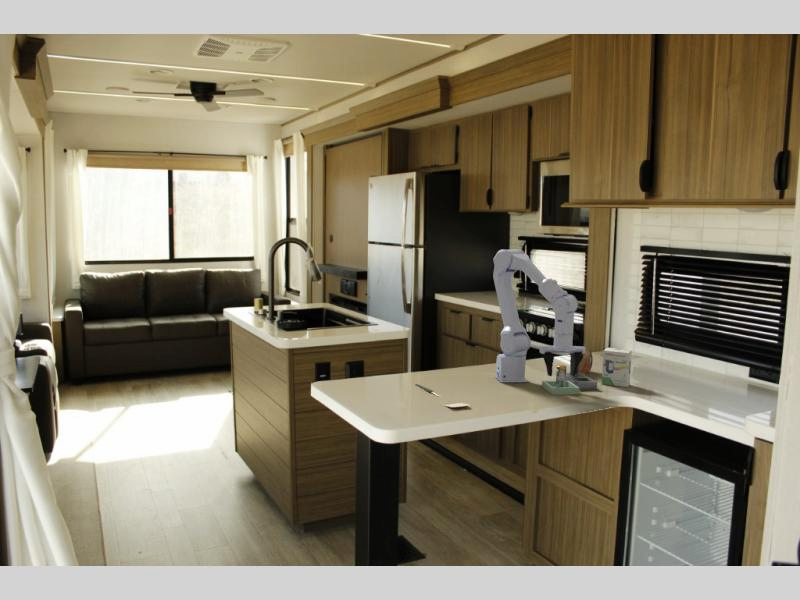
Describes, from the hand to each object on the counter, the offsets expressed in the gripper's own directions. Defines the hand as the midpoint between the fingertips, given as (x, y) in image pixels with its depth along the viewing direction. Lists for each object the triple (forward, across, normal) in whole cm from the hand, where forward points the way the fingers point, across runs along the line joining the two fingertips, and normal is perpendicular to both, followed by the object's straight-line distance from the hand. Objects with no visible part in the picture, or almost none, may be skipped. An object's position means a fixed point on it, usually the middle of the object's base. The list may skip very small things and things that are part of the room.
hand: (561, 375), depth 218 cm
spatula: (+6, -41, -5) cm, 42 cm away
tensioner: (+5, +9, +7) cm, 12 cm away
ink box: (+5, +22, +7) cm, 24 cm away
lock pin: (+4, 0, 0) cm, 4 cm away
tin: (+5, +16, +22) cm, 28 cm away
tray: (+5, 0, 0) cm, 5 cm away
